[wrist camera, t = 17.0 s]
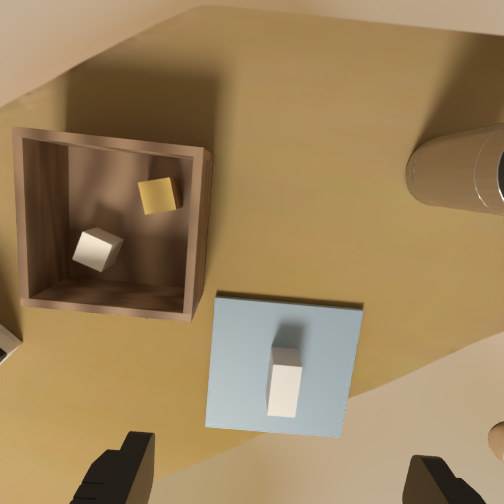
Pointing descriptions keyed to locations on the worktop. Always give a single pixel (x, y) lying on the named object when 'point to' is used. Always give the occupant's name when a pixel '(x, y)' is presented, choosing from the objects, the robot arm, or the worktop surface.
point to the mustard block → (160, 195)
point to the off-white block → (97, 249)
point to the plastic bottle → (497, 440)
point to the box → (109, 223)
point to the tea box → (7, 343)
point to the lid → (281, 366)
